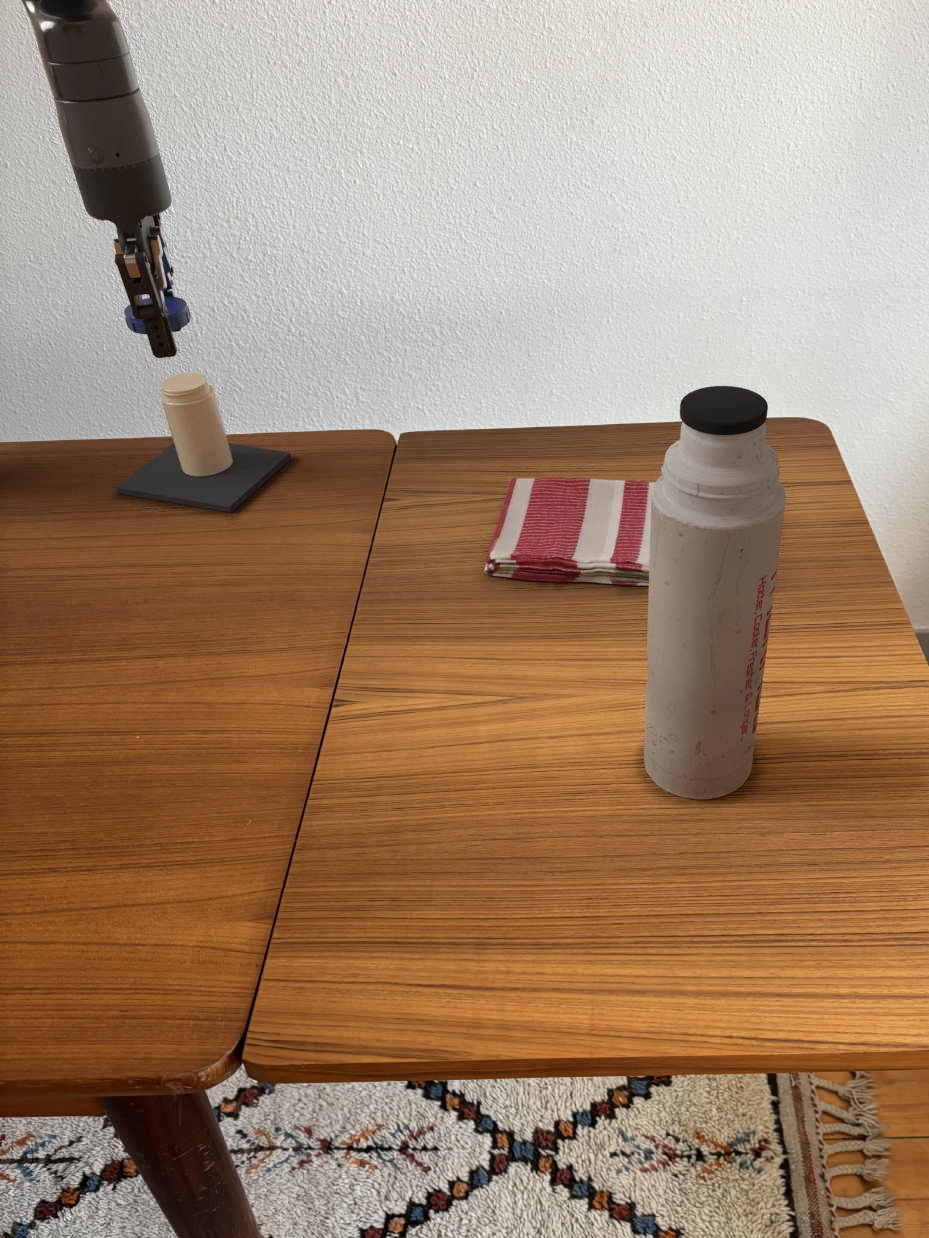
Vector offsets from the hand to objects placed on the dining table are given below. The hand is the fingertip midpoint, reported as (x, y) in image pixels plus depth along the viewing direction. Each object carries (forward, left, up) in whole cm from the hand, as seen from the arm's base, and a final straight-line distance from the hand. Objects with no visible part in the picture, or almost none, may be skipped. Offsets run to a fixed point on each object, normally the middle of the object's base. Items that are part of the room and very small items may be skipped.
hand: (168, 342), depth 103 cm
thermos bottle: (+61, -27, -15) cm, 69 cm away
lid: (0, 0, +3) cm, 3 cm away
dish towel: (+46, +1, -15) cm, 48 cm away
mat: (0, 0, -14) cm, 14 cm away
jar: (0, +1, -14) cm, 14 cm away
